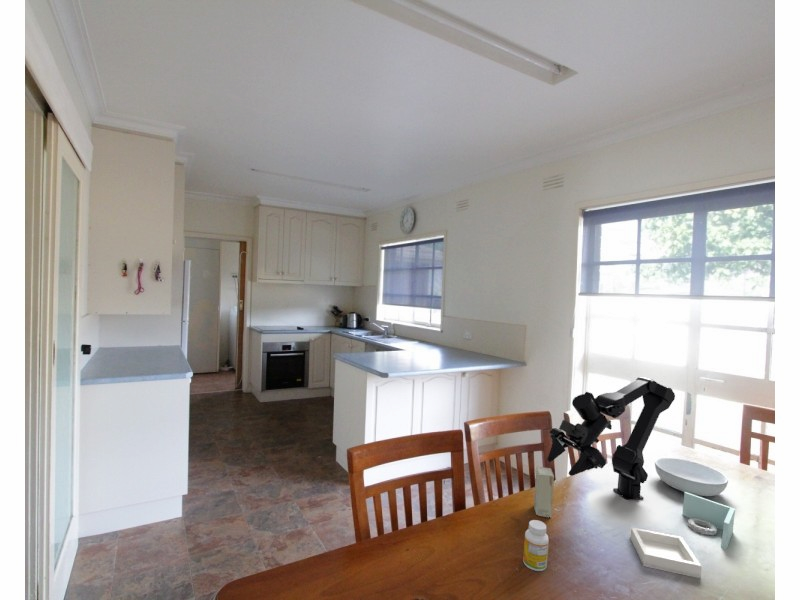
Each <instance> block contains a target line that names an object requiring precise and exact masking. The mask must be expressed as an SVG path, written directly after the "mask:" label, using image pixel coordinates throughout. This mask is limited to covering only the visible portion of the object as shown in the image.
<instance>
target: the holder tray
mask: <svg viewBox="0 0 800 600" xmlns="http://www.w3.org/2000/svg"><path fill="white" fill-rule="evenodd" d="M629 535H630V536H629V537H630V538H629V539H630V540H631V542H632V544H633V546H634V549H635V551H636V554H637V555H638V557H639V559H640V562H641V563H642V566H643V567H647V568H652V569H656V570H659V571H660V570H661V571H665V572H669V573H674V574H679V575H683V576H688V577H692V578H697V579H701V578H702V577H701V576H702V567H703V566H702V564H701V563H700V561H699V560H698V558H697V557H696V556H695V554H694V553H693V551H692V549H690V547H689V545H688V543H687V542H686V541H685V540H684V538H683V537H682V536H678V535H675V534H671V533H670V534H668V533H663V532H659V531H653V530H650V529H649V530H647V529H644V528H643V529H642V528H638V527H630V534H629Z"/></svg>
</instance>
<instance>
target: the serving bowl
mask: <svg viewBox="0 0 800 600" xmlns="http://www.w3.org/2000/svg"><path fill="white" fill-rule="evenodd" d="M654 466H655V471H656V473H657V475H658V477H659V478H660V479H661V481H663V482H664V483H665V484H667V485H668V486H669V487H672V488H673V489H675V490H678V491H681V492H683V493H685V492H687V493H690V494H693V495H696V496H699V497H714V496H718V495H720V494H721V493H723V492H724V491H725V490H726V488H727V486H728V483H729V478H728V477H727V476H726V475H725V474H723V473H722V472H721V471H719V470H717V469H715V468H713V467H710V466H709V465H708V466H707V465H705V464H703V463H699V462H695V461H693V460H692V461H691V460H688V459H687V460H686V459H681V458H676V457H675V458H674V457H660V458H657V459H656V460H654Z"/></svg>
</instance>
